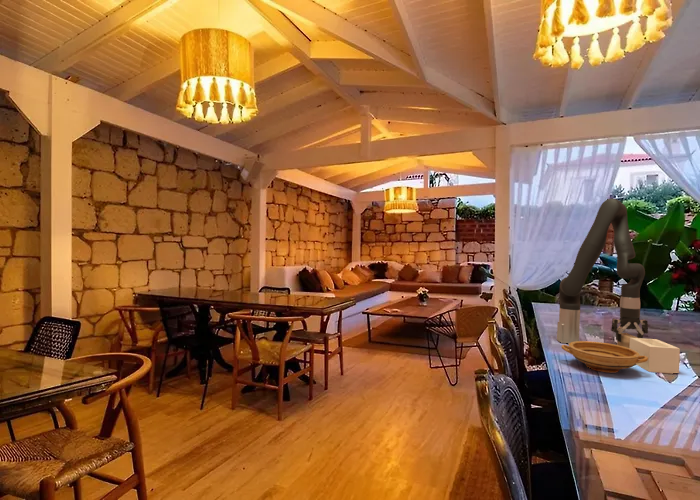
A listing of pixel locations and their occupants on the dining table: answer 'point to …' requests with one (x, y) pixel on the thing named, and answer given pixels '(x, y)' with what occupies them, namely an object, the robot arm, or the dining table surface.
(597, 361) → the ceramic bowl
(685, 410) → the dining table surface
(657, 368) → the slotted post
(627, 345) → the tan wooden block
